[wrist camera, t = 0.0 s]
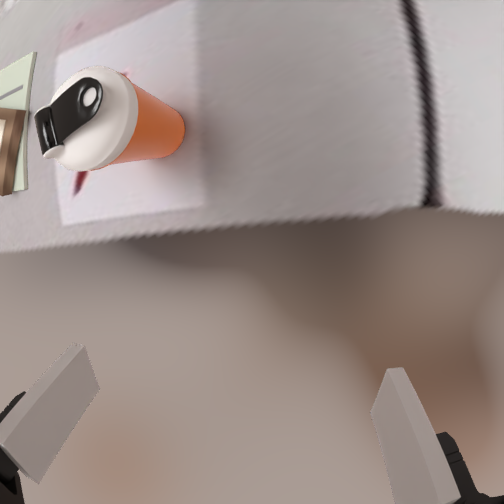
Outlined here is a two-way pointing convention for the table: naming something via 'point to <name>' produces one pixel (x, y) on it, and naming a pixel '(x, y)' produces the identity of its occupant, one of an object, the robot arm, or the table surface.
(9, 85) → the wall panel
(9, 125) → the frame
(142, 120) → the shaker bottle
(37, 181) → the table surface
